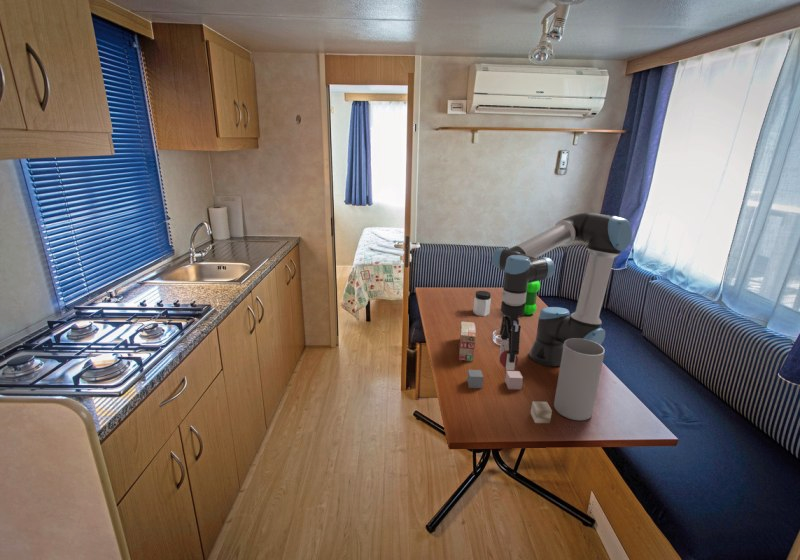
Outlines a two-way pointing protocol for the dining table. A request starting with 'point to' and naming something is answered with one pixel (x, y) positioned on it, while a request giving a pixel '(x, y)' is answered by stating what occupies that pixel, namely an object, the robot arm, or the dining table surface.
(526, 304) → the plastic bottle
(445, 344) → the dining table surface
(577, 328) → the robot arm
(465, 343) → the stack of blocks
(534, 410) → the birch block
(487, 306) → the jar
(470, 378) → the slate grey block
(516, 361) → the fruit
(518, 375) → the dusty rose block
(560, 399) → the cylinder vase
